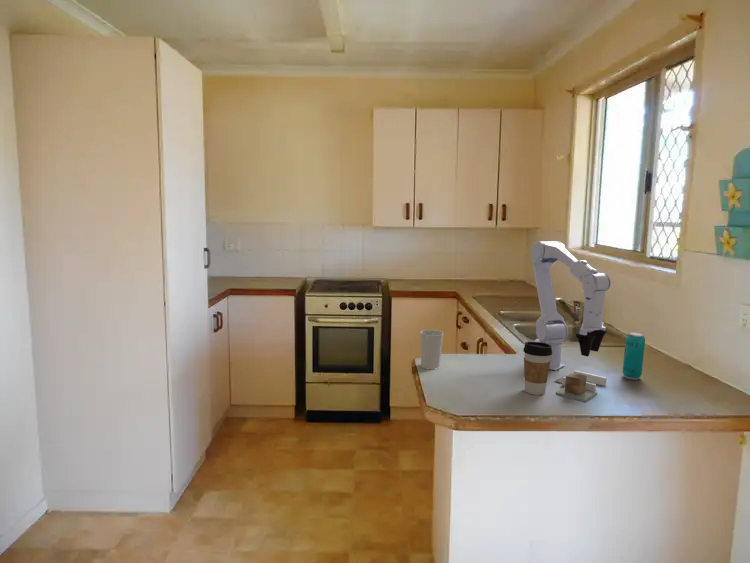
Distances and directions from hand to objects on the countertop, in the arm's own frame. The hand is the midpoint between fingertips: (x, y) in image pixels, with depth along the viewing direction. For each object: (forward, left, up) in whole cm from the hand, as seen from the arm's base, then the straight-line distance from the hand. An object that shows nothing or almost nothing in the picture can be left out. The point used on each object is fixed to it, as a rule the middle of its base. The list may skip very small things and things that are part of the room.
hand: (589, 353), depth 172 cm
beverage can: (+9, +16, -10) cm, 21 cm away
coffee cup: (-8, -20, -10) cm, 24 cm away
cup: (-45, -23, -10) cm, 52 cm away
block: (+1, -13, -9) cm, 16 cm away
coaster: (+2, -13, -10) cm, 16 cm away
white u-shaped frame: (-1, -3, -10) cm, 10 cm away
